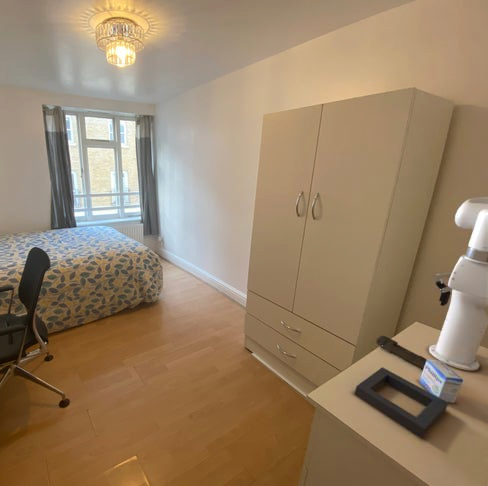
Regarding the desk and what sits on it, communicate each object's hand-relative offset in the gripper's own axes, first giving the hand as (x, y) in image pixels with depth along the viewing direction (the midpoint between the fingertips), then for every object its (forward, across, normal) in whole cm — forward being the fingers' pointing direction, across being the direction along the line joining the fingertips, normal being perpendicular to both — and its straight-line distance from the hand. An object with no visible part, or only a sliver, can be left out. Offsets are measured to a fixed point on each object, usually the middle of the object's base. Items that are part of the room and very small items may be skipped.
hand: (466, 311), depth 78 cm
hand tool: (+27, +11, -6) cm, 30 cm away
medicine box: (+27, 0, +3) cm, 27 cm away
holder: (+27, +4, +18) cm, 32 cm away
